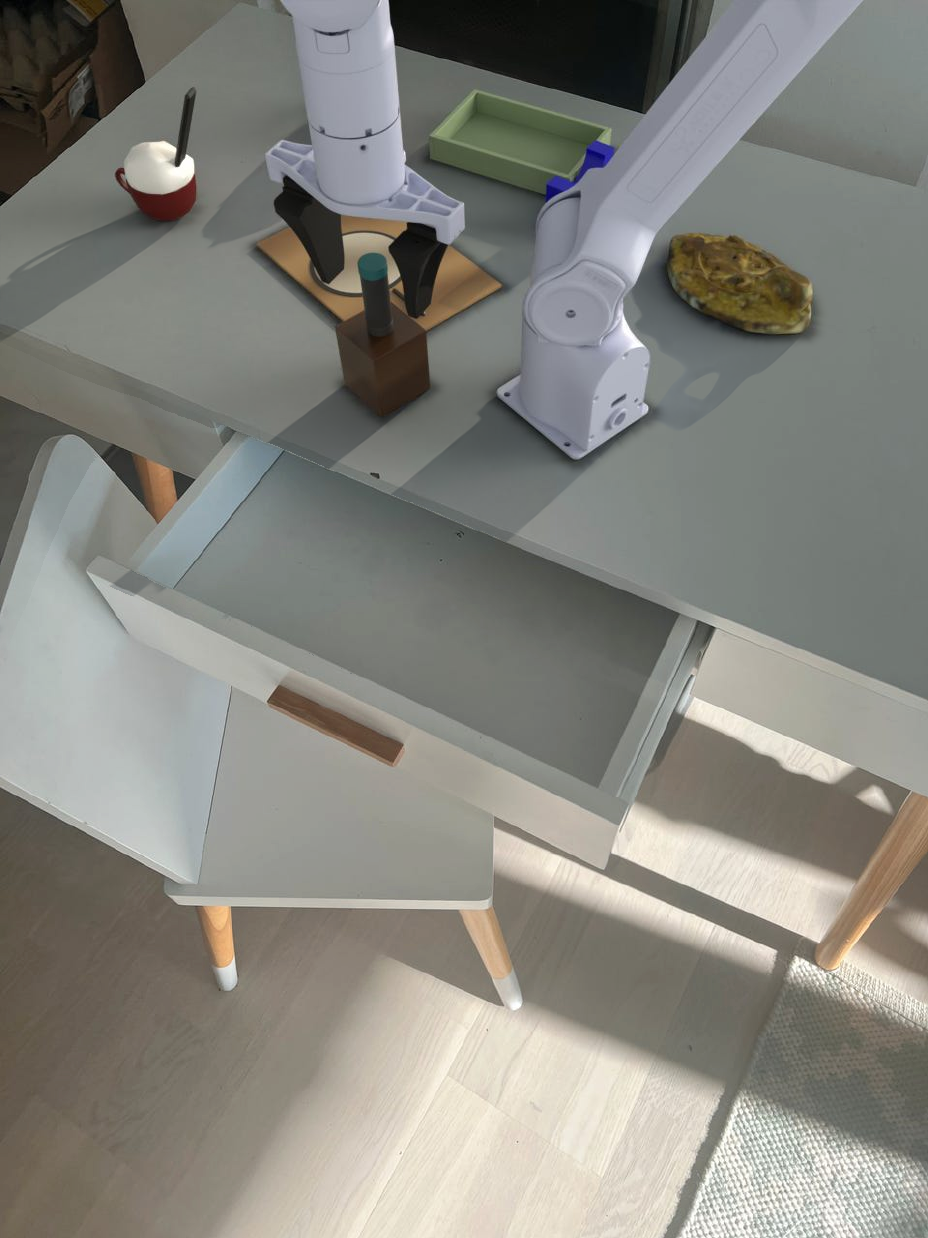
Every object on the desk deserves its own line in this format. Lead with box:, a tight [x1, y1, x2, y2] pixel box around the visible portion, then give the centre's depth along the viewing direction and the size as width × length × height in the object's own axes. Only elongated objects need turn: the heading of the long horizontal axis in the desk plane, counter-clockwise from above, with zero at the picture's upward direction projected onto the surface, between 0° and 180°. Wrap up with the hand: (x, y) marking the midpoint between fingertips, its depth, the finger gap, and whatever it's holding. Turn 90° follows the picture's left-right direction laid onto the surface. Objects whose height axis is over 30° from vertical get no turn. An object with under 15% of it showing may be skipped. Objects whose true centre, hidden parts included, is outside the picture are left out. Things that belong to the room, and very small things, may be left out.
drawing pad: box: [256, 214, 502, 332], centre depth 89 cm, size 19×13×1 cm
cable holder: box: [544, 140, 615, 205], centre depth 91 cm, size 8×4×4 cm, turn 144°
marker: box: [357, 253, 393, 337], centre depth 73 cm, size 2×2×6 cm
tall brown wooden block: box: [334, 302, 431, 418], centre depth 78 cm, size 5×5×6 cm
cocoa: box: [114, 86, 198, 222], centre depth 89 cm, size 10×6×12 cm, turn 53°
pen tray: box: [428, 88, 612, 196], centre depth 96 cm, size 15×9×2 cm, turn 61°
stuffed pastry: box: [666, 232, 814, 335], centre depth 84 cm, size 9×5×15 cm
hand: (375, 292), depth 73 cm, fingers open, 7 cm apart
